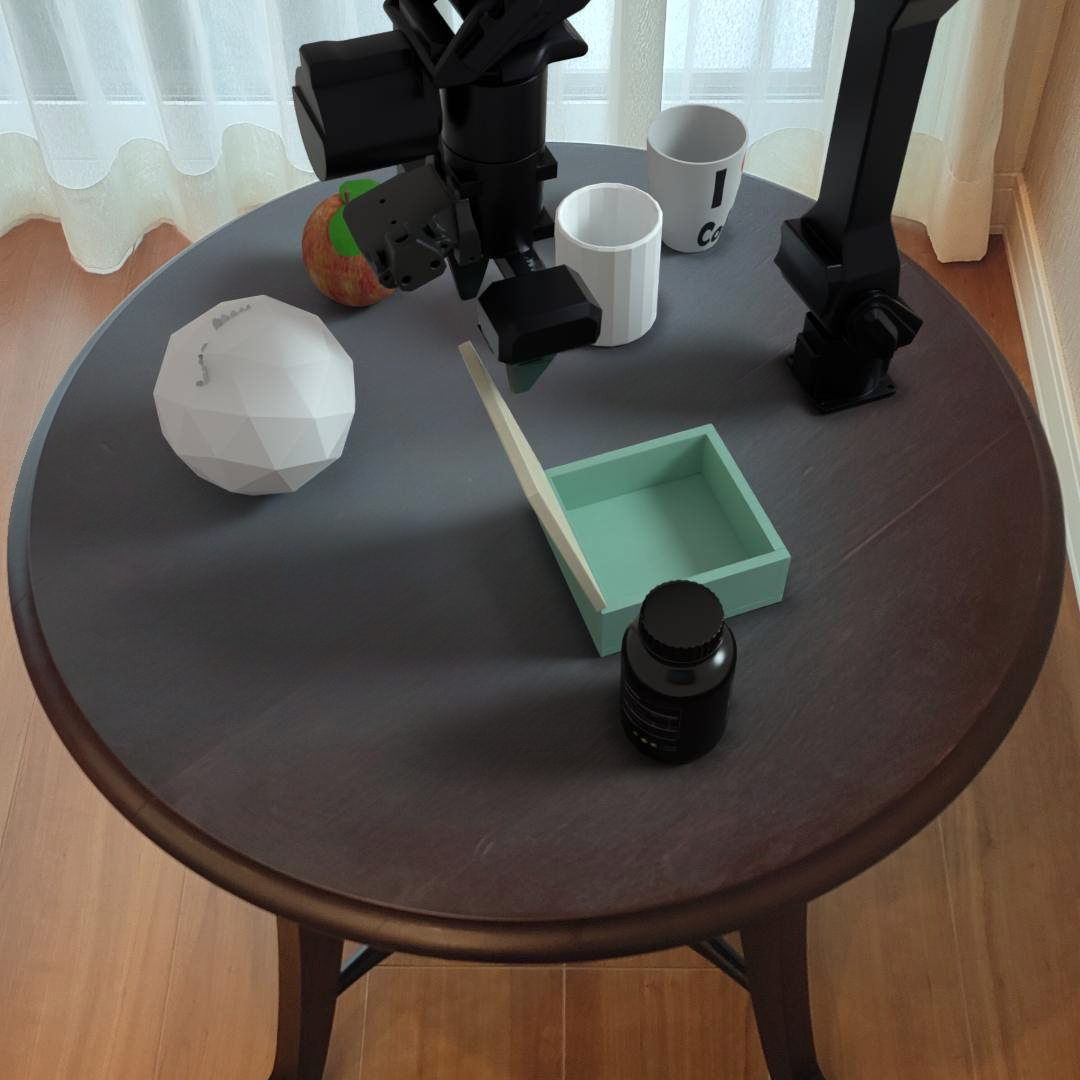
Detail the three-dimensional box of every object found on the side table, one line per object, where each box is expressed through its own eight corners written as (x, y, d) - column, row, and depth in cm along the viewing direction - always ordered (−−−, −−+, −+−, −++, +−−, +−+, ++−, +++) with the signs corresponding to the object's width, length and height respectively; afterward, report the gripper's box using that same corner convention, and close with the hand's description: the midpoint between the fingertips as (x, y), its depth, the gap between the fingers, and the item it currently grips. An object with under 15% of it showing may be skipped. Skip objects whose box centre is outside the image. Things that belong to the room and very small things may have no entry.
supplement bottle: (655, 656, 86) (665, 544, 77) (746, 708, 84) (767, 599, 74) (596, 731, 83) (599, 624, 74) (689, 787, 81) (704, 684, 71)
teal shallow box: (706, 469, 96) (711, 422, 92) (781, 601, 89) (791, 556, 85) (537, 517, 94) (535, 471, 90) (600, 657, 86) (602, 614, 83)
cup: (709, 276, 109) (719, 176, 101) (624, 244, 112) (627, 144, 104) (752, 222, 113) (766, 122, 106) (669, 192, 116) (676, 92, 108)
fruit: (295, 321, 107) (272, 222, 99) (332, 246, 113) (313, 146, 105) (397, 335, 106) (382, 236, 98) (429, 258, 111) (417, 159, 104)
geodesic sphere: (305, 539, 85) (321, 318, 82) (101, 504, 88) (107, 287, 84) (376, 491, 100) (392, 301, 96) (199, 462, 102) (208, 275, 98)
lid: (469, 339, 78) (457, 345, 78) (539, 491, 71) (526, 497, 71) (540, 464, 90) (530, 470, 90) (607, 607, 82) (596, 613, 82)
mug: (513, 276, 110) (508, 178, 102) (657, 281, 109) (663, 182, 101) (504, 343, 105) (498, 245, 97) (655, 349, 104) (661, 251, 96)
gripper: (303, 70, 75) (329, 282, 87) (408, 271, 65) (422, 480, 77) (485, 34, 78) (486, 244, 90) (615, 221, 68) (596, 430, 80)
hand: (493, 343), depth 84 cm, fingers open, 9 cm apart
